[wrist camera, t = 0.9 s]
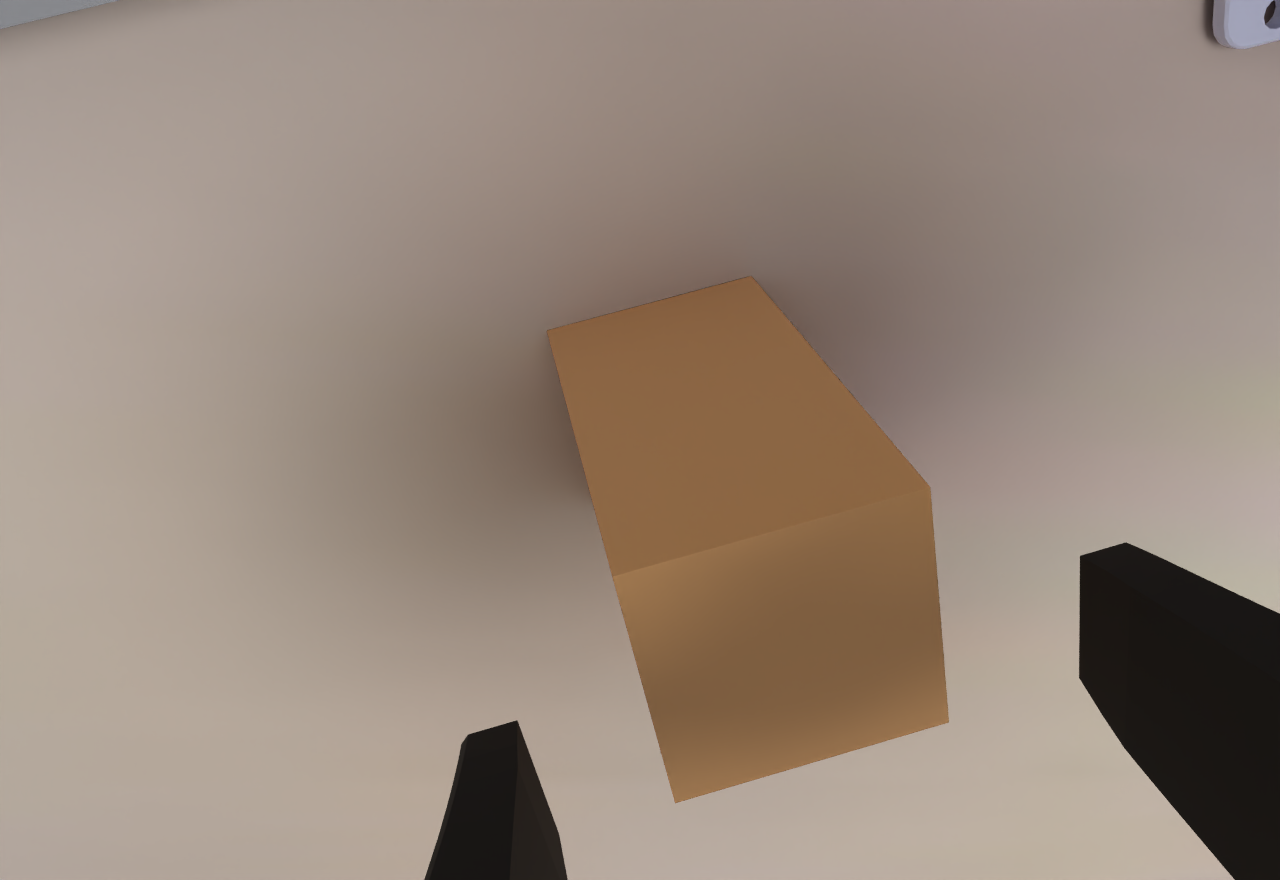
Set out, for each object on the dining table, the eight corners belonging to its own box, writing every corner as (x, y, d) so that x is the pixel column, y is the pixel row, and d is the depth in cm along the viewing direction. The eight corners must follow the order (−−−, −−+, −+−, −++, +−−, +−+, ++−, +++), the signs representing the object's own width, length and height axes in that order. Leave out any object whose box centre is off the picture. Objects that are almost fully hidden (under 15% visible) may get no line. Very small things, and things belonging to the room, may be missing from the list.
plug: (751, 276, 19) (929, 486, 12) (780, 453, 21) (948, 722, 14) (546, 330, 19) (612, 576, 12) (594, 505, 21) (674, 803, 14)
